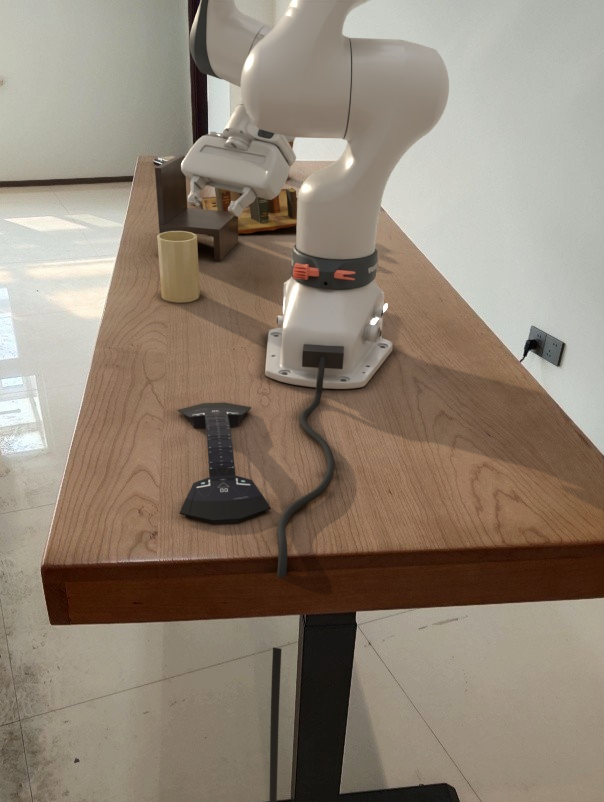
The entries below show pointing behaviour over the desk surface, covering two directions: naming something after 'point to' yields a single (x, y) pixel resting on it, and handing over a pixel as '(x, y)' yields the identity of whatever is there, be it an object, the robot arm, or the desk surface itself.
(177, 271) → the cup
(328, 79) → the robot arm
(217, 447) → the dark piece
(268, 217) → the book stand
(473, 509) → the desk surface
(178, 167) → the dark grey toy chair
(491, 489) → the desk surface
